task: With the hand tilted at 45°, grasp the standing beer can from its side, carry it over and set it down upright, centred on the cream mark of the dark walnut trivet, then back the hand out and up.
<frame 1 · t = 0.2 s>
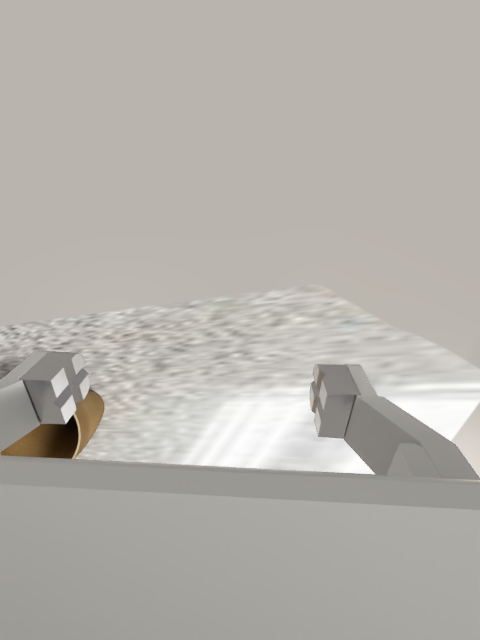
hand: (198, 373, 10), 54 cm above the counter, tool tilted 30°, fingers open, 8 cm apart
plant pot: (88, 407, 66), on the counter
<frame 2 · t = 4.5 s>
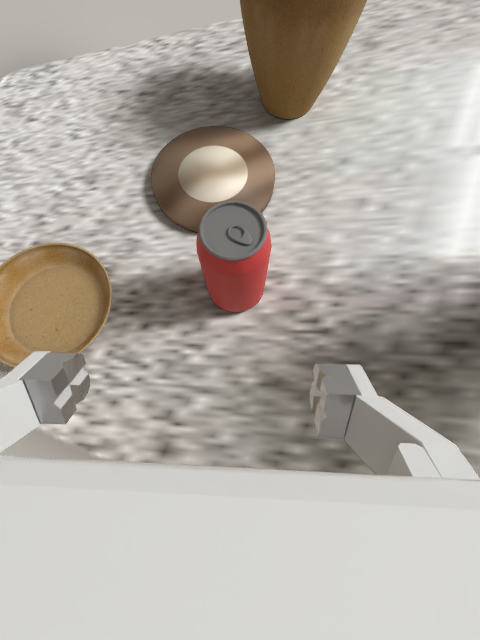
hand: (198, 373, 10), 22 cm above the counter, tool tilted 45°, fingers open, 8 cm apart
walnut trivet: (214, 182, 40), on the counter
plant saucer: (59, 310, 35), on the counter
plant pot: (286, 103, 44), on the counter
beer can: (236, 288, 35), on the counter
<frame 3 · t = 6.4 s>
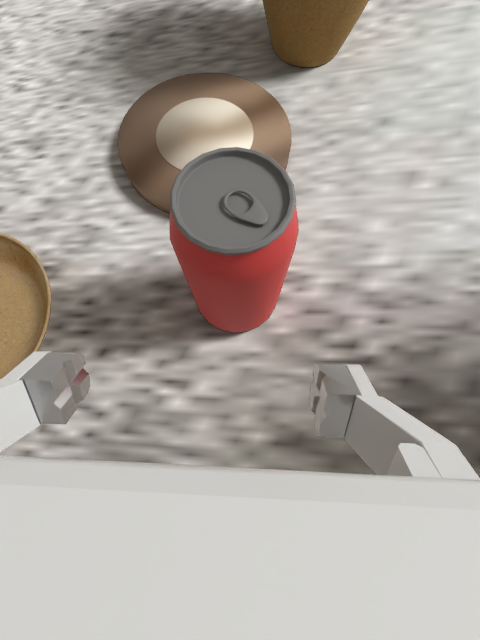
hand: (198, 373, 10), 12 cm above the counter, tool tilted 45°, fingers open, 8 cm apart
walnut trivet: (206, 148, 29), on the counter
plant pot: (304, 48, 33), on the counter
beer can: (236, 296, 25), on the counter
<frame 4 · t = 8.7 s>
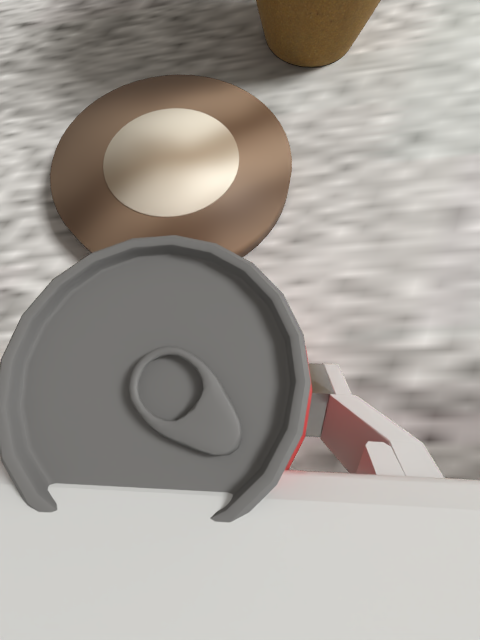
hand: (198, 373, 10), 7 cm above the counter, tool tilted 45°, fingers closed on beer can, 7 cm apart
walnut trivet: (176, 176, 21), on the counter
plant pot: (306, 42, 26), on the counter
beer can: (214, 398, 17), on the counter, touching gripper
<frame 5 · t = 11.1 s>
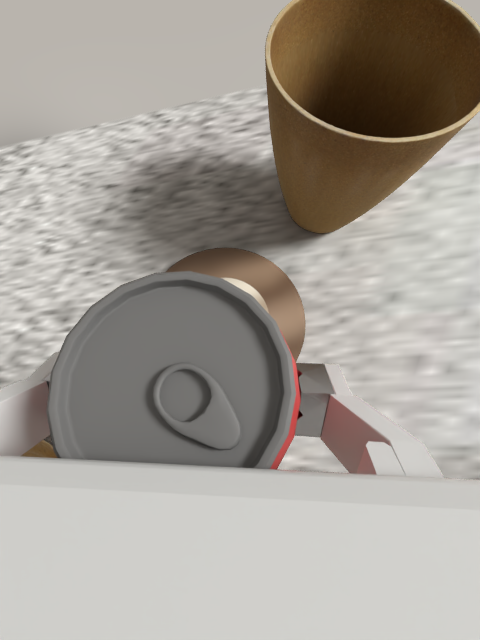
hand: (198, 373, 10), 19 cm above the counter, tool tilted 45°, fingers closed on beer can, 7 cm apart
walnut trivet: (224, 324, 30), on the counter
plant saucer: (11, 517, 26), on the counter
plant pot: (317, 209, 35), on the counter
beer can: (216, 402, 18), point 10 cm above the counter, touching gripper
when the fingers open (10 cm above the counter, at t = 13.9 s): beer can stays where it is, resting on walnut trivet.
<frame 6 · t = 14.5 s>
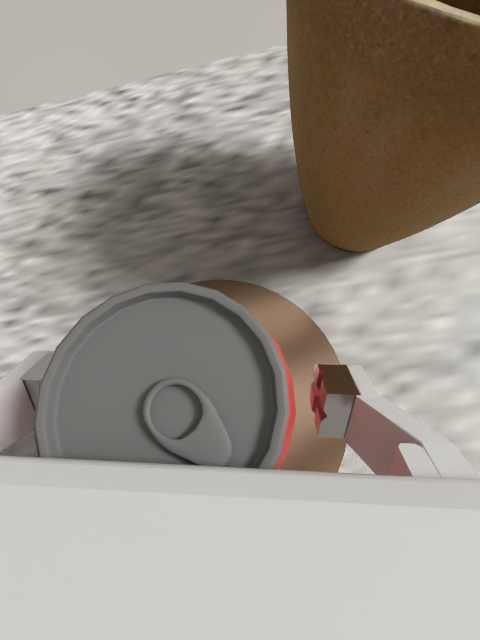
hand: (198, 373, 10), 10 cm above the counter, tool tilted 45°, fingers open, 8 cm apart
walnut trivet: (219, 400, 19), on the counter
plant pot: (350, 215, 24), on the counter
beer can: (213, 406, 18), point 1 cm above the counter, touching walnut trivet
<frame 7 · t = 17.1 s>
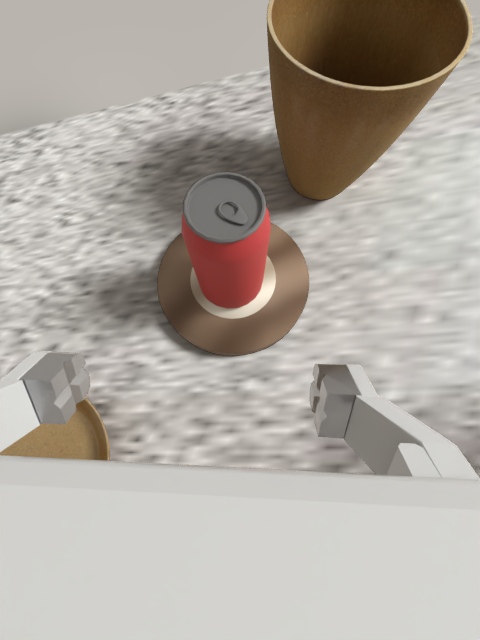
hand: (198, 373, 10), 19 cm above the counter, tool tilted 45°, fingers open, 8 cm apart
walnut trivet: (233, 283, 33), on the counter
plant saucer: (43, 462, 28), on the counter
plant pot: (316, 178, 37), on the counter
beer can: (231, 281, 31), point 1 cm above the counter, touching walnut trivet
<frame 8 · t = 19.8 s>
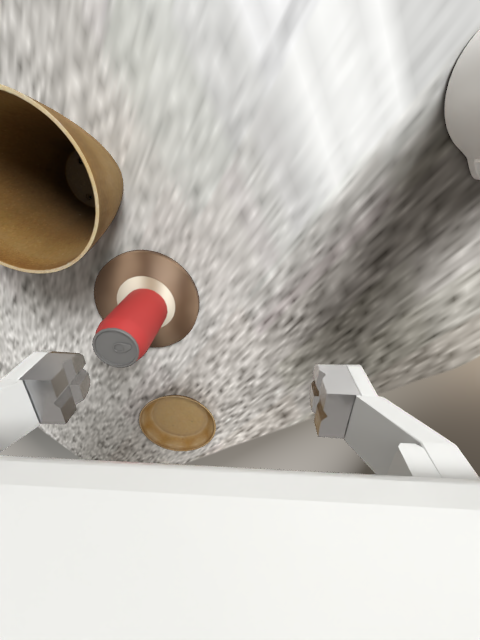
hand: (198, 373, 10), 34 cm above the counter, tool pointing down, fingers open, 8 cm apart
walnut trivet: (149, 299, 47), on the counter
plant saucer: (180, 414, 59), on the counter
plant pot: (97, 180, 39), on the counter
beer can: (147, 306, 46), point 1 cm above the counter, touching walnut trivet
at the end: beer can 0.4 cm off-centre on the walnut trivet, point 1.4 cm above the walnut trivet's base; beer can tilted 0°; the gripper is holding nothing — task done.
